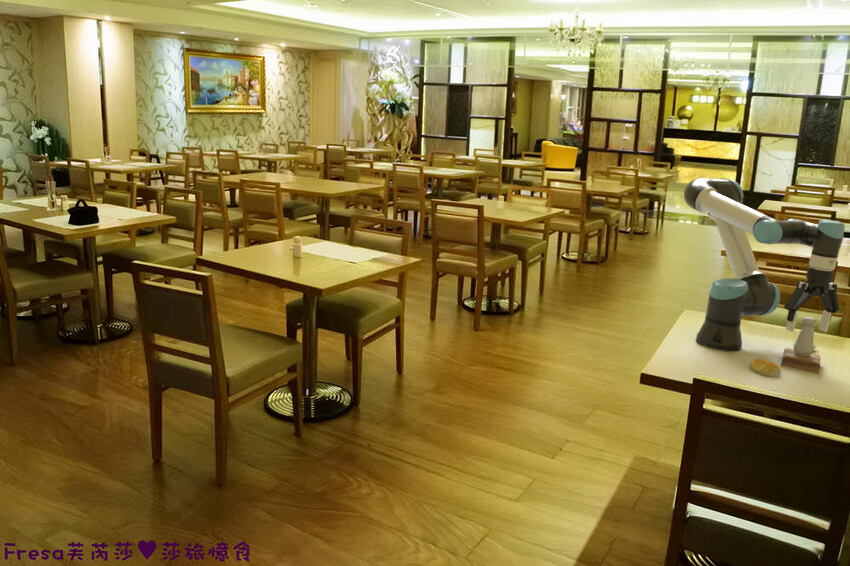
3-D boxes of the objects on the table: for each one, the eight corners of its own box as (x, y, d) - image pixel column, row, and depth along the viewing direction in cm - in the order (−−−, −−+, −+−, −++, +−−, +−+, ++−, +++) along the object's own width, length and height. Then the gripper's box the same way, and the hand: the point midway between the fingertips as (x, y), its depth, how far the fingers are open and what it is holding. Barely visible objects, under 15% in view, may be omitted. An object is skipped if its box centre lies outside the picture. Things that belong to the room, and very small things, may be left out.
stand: (818, 373, 227) (820, 363, 226) (780, 365, 232) (783, 355, 231) (818, 364, 236) (820, 354, 236) (782, 356, 241) (784, 347, 241)
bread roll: (758, 366, 231) (761, 354, 230) (783, 375, 223) (786, 363, 222) (742, 368, 226) (745, 357, 226) (767, 378, 219) (770, 366, 218)
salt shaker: (810, 359, 230) (819, 321, 226) (791, 355, 232) (799, 317, 229) (812, 355, 234) (820, 317, 231) (793, 350, 237) (801, 314, 234)
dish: (803, 352, 250) (804, 347, 249) (788, 345, 256) (789, 340, 256) (819, 351, 252) (820, 346, 251) (803, 345, 258) (804, 340, 258)
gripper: (799, 270, 219) (784, 334, 225) (861, 271, 226) (845, 334, 232) (781, 264, 226) (767, 326, 232) (842, 266, 233) (827, 326, 239)
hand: (806, 330), depth 232 cm, fingers open, 13 cm apart
